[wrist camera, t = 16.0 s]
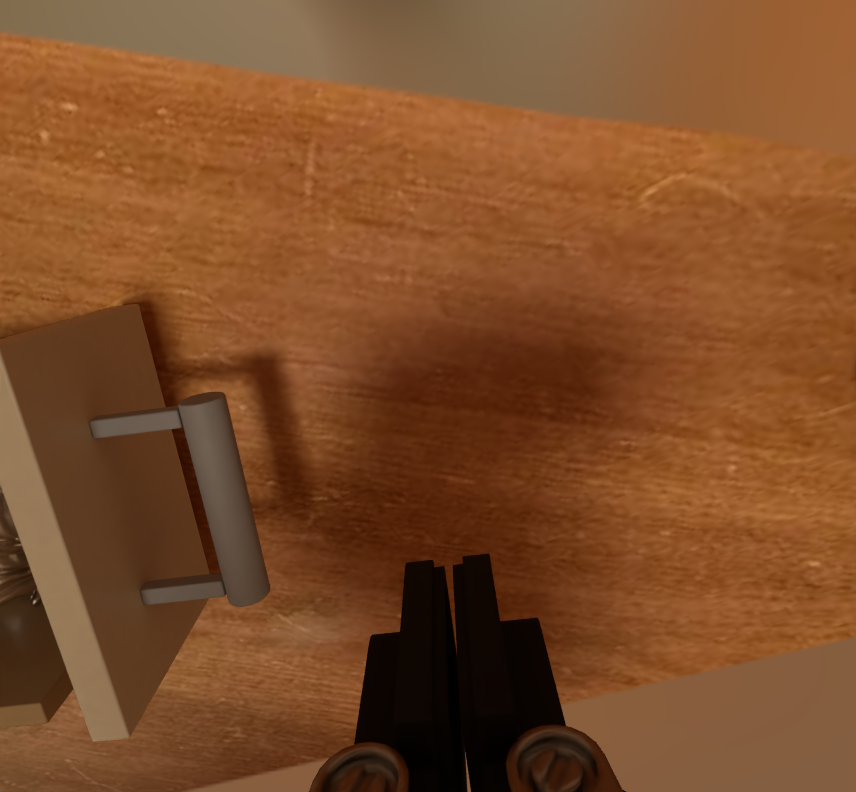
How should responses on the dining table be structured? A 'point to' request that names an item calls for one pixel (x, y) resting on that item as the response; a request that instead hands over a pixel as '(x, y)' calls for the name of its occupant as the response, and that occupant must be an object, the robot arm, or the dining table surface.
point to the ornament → (14, 562)
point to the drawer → (110, 520)
